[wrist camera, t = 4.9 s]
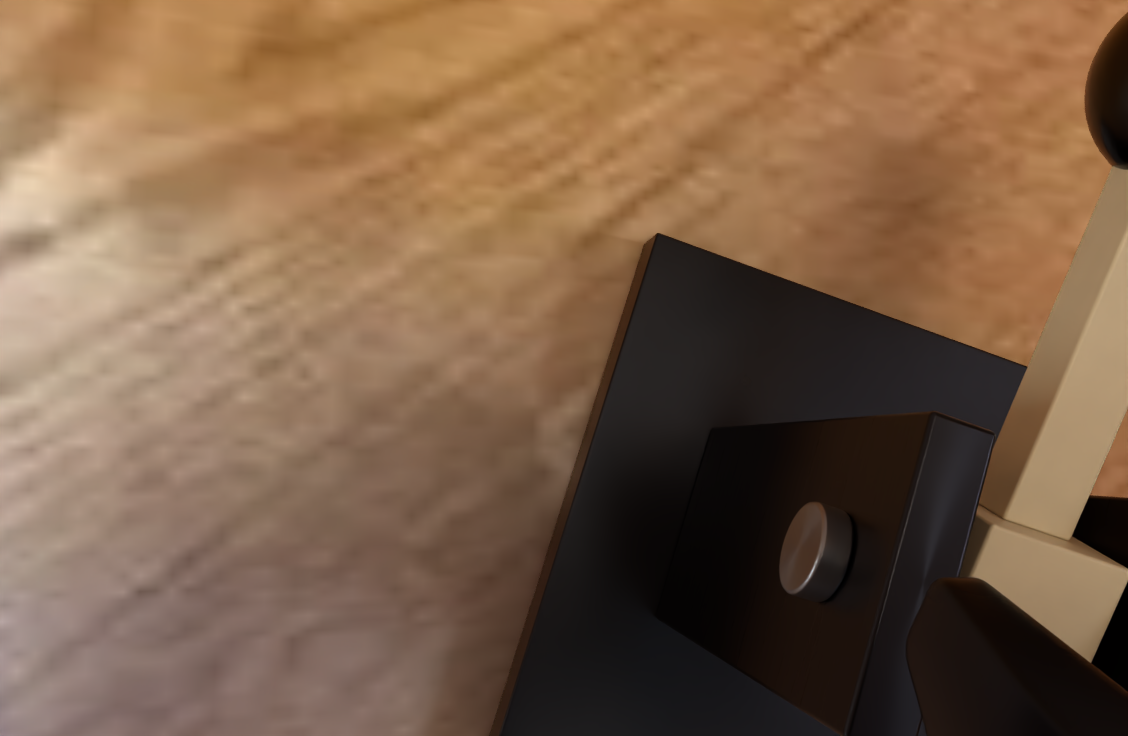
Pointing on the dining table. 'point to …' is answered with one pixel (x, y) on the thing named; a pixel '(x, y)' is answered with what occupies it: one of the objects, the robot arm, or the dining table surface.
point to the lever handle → (1068, 409)
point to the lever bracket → (763, 515)
